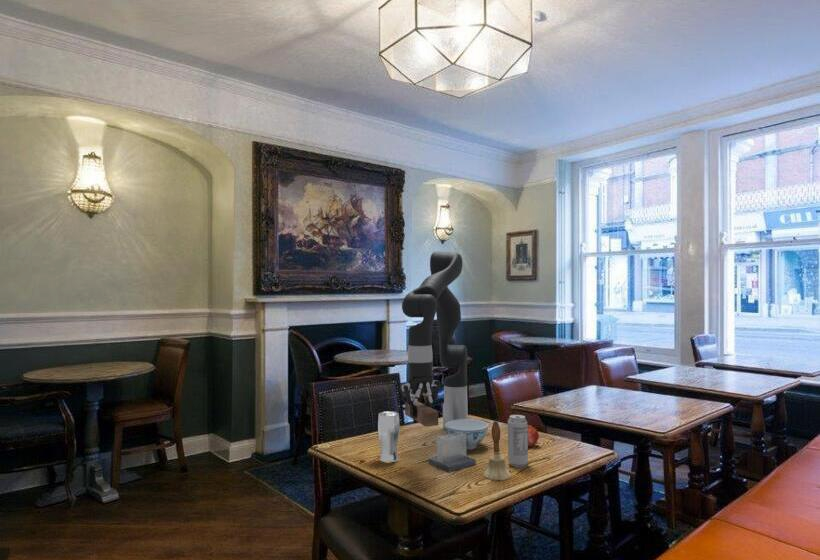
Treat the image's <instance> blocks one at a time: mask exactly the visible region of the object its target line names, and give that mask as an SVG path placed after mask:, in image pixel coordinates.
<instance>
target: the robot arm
mask: <svg viewBox="0 0 820 560" xmlns="http://www.w3.org/2000/svg"><path fill="white" fill-rule="evenodd" d="M429 268H430V269H429V270H430V275H429V276H427V277H426V278H425V279H424V280H423V281H422V282H421V284H420V285H419V286H418V287H417V288H415V289H413V290H411V291H410V292H409V293H407V294H406V295H405V296H404V298H403V300H402V304H401V310H402V312H403V314H404V315H405V316H406V317H408V318H422V322H421V323H420V324H415V325H412V326H410V327H409V328H408V334H407V335H408V336H407V337H408V349H407V375H408V381H407V383H405V384H402V383H401V384H400V385H399V388H400V392H401V396H402V400H403V403H404V404H405V403H406V404H409V405H410V416H411V417H412V418H417V406H416V404H417V401H418V399H419V398H420V395H422V396H423V399H424V405H426V406H428V407H430V408H432V407H433V402H434V401H437V399H438V395H439V391H440V387H441V381H440V380H439V379H437V380H436V379H433V377H432V376H433V374H434V372H433V370H434V368H433V367H434V365H433V347H432V332H433V326H434V321H435V318H436V322H437V330H438V338H439V344H438V345H439V363H440V365H441V366H442V368H445V369H458V371H457V372H455V373H454V374H451V375H449V376H446V377H445V378H444V379H443V400H444V401H443V403H442V428H443V429H444V430H445V431H447V430H446V426H445V424H446V423H447V422H449V421H452V420H459V419H468V416H469V415H468V374H467V373H468V348H467V346H466V345H463V344H449V341H450V339H451V337H452V335H453V334H454V333H455V332H456V330H458V327H459V326H460V324H461V321H462V314H461V313H462V312H461V304H460V302H459V300H458V298H457V297H456V296H455V294H454V292H452V291H451V289H450V288H449V287H448V286H450V285H451V284H452V283H453V282H454V281H455V280H457V278H458V277H460V275H461V273H462V271H463V257H462V255H461V254H460V253H458V252H454V251H434V252H432V254H431V255H430V258H429ZM432 409H433V408H432ZM412 418H411V419H412Z"/></svg>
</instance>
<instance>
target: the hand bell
mask: <svg viewBox="0 0 820 560" xmlns="http://www.w3.org/2000/svg"><path fill="white" fill-rule="evenodd" d="M491 438H492V441H493V454H492V455H490V456H489V457H488V464H487V468H486V469H485V470H484V471H483V473H482V476H483V477H484V478H485V477H486V479H487V478H488V479H487V480H490V479H491V480H490V481H498V480H500V481H506V479H507V480H510V479H511V478H512V473H511V472H510V471H509V470H508V468H507V466H506V465H507V464H506V459H505V457H504V455H501V453H500V439H501V428H500V425H499V421H498V420H493V422H492V426H491Z"/></svg>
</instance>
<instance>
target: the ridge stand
mask: <svg viewBox="0 0 820 560" xmlns="http://www.w3.org/2000/svg"><path fill="white" fill-rule="evenodd" d="M428 464H429V465H432V466H434V467H436V468H439V469H442V470H443V471H445V470H446V471H445V472H448V473H449V472H450V473H451V472H454V471H458V470H461V469H464V468H469V467H472V466H475V465H477V460H476V459H475V458H473V457H470V456H467V449H466V433H463V432H458V433H453V434H449V435H448V434H444V435H440V436H437V437H436V456H433V457H428ZM457 469H458V470H457Z"/></svg>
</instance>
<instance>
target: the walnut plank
mask: <svg viewBox="0 0 820 560" xmlns="http://www.w3.org/2000/svg"><path fill="white" fill-rule="evenodd" d="M416 406H417V418H412V417H411V416H410V405H409V404H406V403H404V414H405V416H407V417H409V418H411V419H412V420H413V421H415V422H417V423H419V424H420V425H422V426H424V427H427V428H429V427H434V426H439V410H437V409H435V408H430V407H428V406H426V405H425V403H422V402H421V401H418V400H417V404H416Z"/></svg>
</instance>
